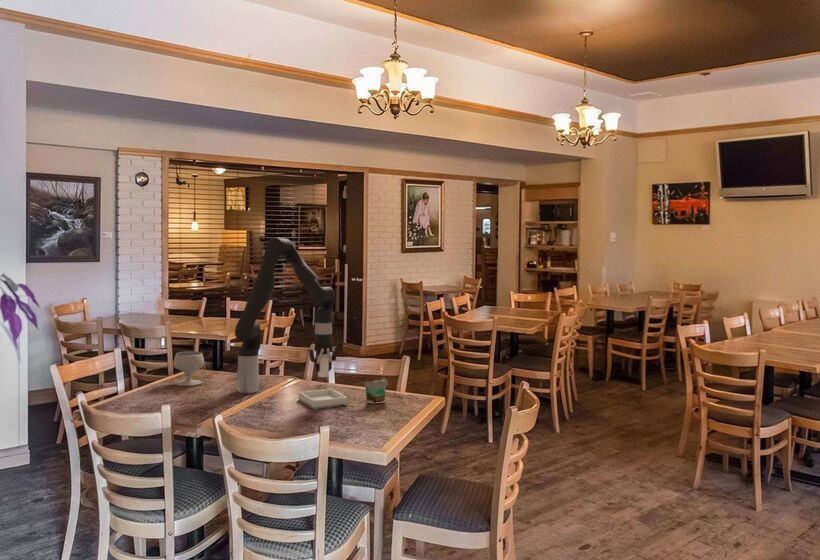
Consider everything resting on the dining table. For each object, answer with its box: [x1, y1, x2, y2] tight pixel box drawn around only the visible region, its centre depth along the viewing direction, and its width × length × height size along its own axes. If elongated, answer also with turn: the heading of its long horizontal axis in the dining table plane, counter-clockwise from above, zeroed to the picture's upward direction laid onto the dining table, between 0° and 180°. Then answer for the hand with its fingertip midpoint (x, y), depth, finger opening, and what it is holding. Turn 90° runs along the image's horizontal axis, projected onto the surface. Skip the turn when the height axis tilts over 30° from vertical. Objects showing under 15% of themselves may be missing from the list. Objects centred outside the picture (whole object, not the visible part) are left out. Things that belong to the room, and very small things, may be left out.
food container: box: [364, 376, 389, 403], centre depth 284 cm, size 12×6×10 cm, turn 143°
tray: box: [298, 388, 349, 410], centre depth 283 cm, size 16×18×4 cm
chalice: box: [173, 350, 205, 387], centre depth 312 cm, size 14×14×15 cm
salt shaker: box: [317, 354, 330, 378], centre depth 282 cm, size 5×5×10 cm
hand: (323, 370), depth 282 cm, fingers closed on salt shaker, 4 cm apart
